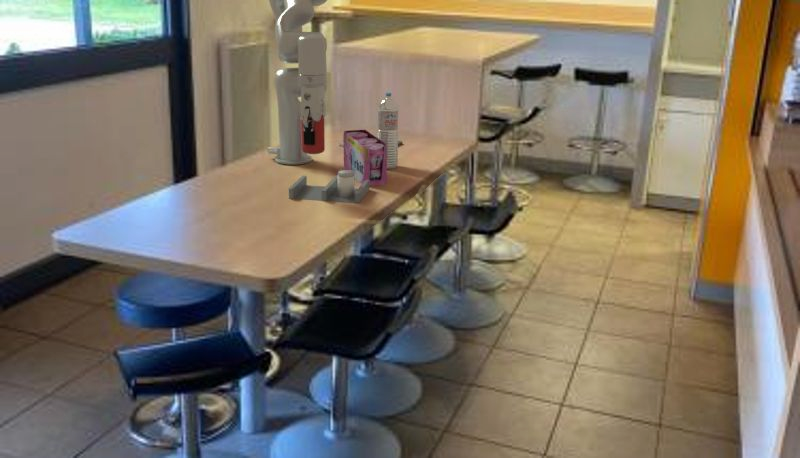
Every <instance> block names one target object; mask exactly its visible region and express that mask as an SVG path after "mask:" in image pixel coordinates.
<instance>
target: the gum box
mask: <svg viewBox="0 0 800 458" xmlns="http://www.w3.org/2000/svg"><path fill="white" fill-rule="evenodd" d="M377 137H378V136H375V135H374V134H372V133H370V132H369V131H368V130H367V129H355V130H354V129H353V130H344V131H343V137H342V139H343V140H344V141H343V142H344V147H343V170H351V171H353V172H354V175H355V179H356V181H358V183H359V184H361V185H362V184H363V182H364V181H365V180H369V187H370V186H379V185H387V183H388V181H387V180H388V178H387V177H388V175H387V174H388V171H387V170H388V169H387V144H386V143H385V142H383V141H381V140H380V139H378V138H377Z"/></svg>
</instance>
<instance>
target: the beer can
mask: <svg viewBox="0 0 800 458" xmlns="http://www.w3.org/2000/svg"><path fill="white" fill-rule="evenodd" d="M309 120H313V119H312V118H309ZM314 121H315V120H314ZM310 124H312V123H310ZM301 129H302V151H303V152H304V153H307V154H308V155H319V154H322V153H323V152H325V149H326V147H325V145H326V144H325V143H326V142H325V140H326V139H325V117H324V116H323V114H322V116H321V120H320V121H318V122H316V121H315V122H314V131H315V145H305V144H304V130H303V129H304V125H303V120H302V118H301Z"/></svg>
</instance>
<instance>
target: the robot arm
mask: <svg viewBox="0 0 800 458" xmlns="http://www.w3.org/2000/svg"><path fill="white" fill-rule="evenodd" d="M327 1H328V0H268V2H269V6H270V8H271V11H272V15H273V16H274V20H275V28H274V37H275V43H276V51H277V56H278V60H279V61H280V62H281V63H284V64H298V66H297V67H284V68H281V69H278V70H277V71H276V72H275V74H274V77H273V78H274V79H273V80H274V82H273V83H274V89H275V94H276V101H277V117H278V118H277V119H278V121H277V123H278V146H277V147H271V146H268V148H267V152H268V153H269V155H275V156H274V160H275V162H276V163H277V164H281V165H290V166H292V165H293V166H296V165H297V166H298V165H305V164H309V163H311V162H312V161H313V160H312V159H313V157H312V156H311V154H307V153H304V152H303V151H302V129H301V118H302V120H303V125H304V129H303V130H304V144H305V145H315V131H314V122H315V121H316V122H318V121H320V120H321V116H322V114H323V116H324V118H325V117H326V115H327V114H326V113H327V111H326V107H327V106H326V92H327V89H328V73H327V71H328V70H327V68H328V67H327V48H328V41H327V38H326V37H325V36H324V34H323V33H322V32H319V31H303V26H305V25H306V24H308V23H310V22H311V21H312V20H313V18H314V16H315V7H320V6H322V5H324V4H325V3H327ZM299 98H300V99H299ZM309 118H312V119H313V120H309ZM314 120H315V121H314ZM310 123H312V124H310Z"/></svg>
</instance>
